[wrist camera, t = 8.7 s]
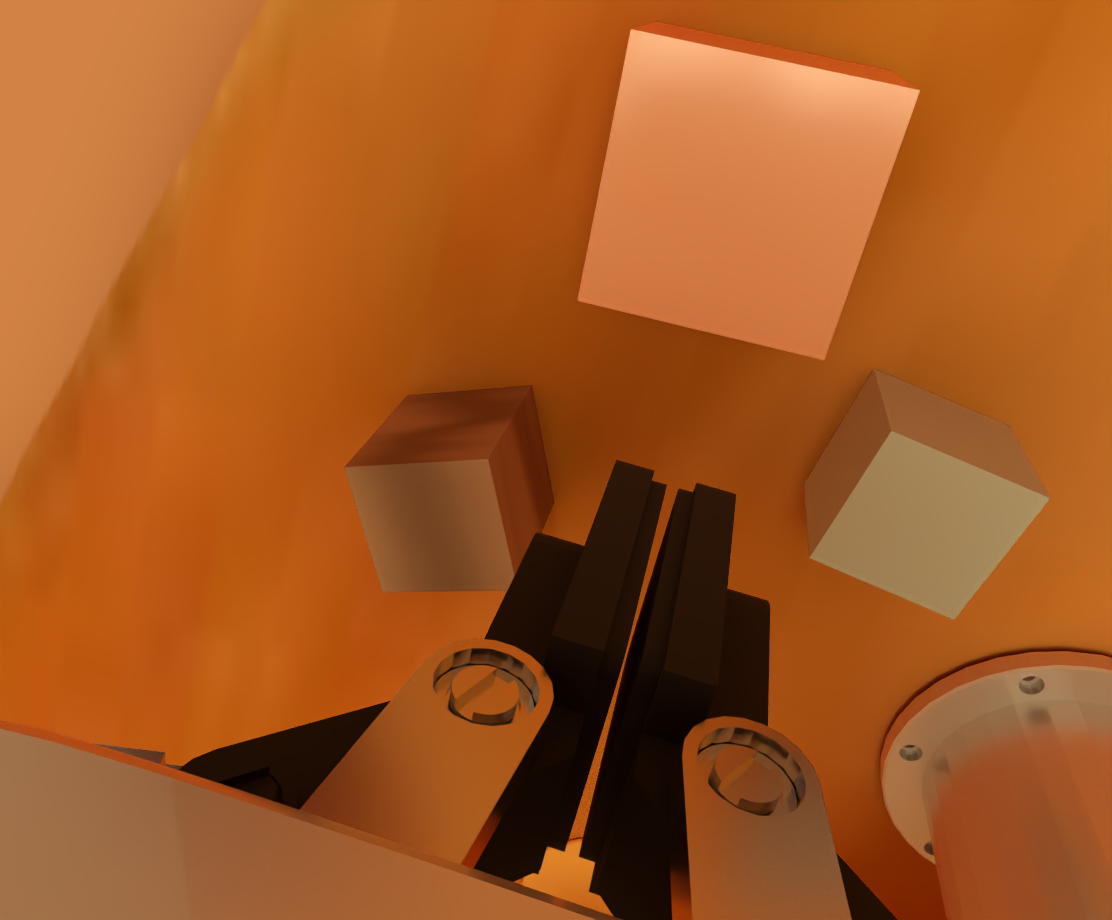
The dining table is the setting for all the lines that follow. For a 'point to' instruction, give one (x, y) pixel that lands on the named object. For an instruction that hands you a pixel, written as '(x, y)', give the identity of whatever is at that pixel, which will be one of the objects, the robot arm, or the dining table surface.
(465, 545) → the walnut block
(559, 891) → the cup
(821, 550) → the greygreen block
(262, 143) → the dining table surface
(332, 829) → the robot arm
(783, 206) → the terracotta block
